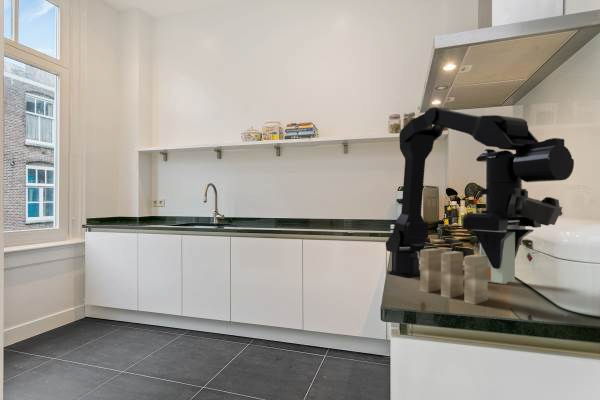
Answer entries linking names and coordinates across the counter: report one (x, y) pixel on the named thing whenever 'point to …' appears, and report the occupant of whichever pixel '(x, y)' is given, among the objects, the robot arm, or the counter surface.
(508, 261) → the sage tile
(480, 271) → the maple tile
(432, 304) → the counter surface
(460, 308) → the counter surface
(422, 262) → the maple tile
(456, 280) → the maple tile
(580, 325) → the counter surface
